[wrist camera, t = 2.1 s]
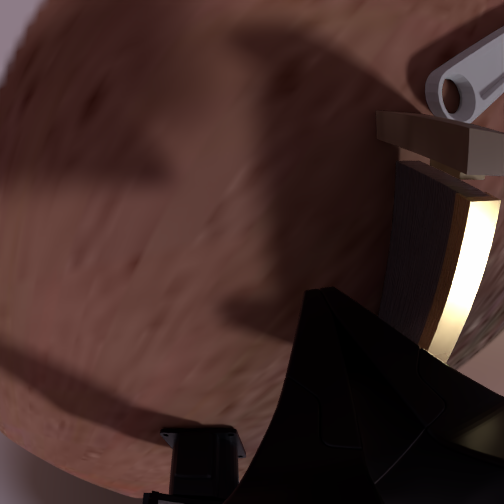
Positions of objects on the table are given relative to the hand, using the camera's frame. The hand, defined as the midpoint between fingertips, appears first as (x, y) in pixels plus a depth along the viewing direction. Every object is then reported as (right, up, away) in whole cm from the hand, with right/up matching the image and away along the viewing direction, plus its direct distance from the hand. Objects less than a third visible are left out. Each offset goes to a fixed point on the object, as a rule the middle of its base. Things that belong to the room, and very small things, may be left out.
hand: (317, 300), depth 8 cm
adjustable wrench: (+15, +16, -2) cm, 22 cm away
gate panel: (+5, 0, +5) cm, 7 cm away
